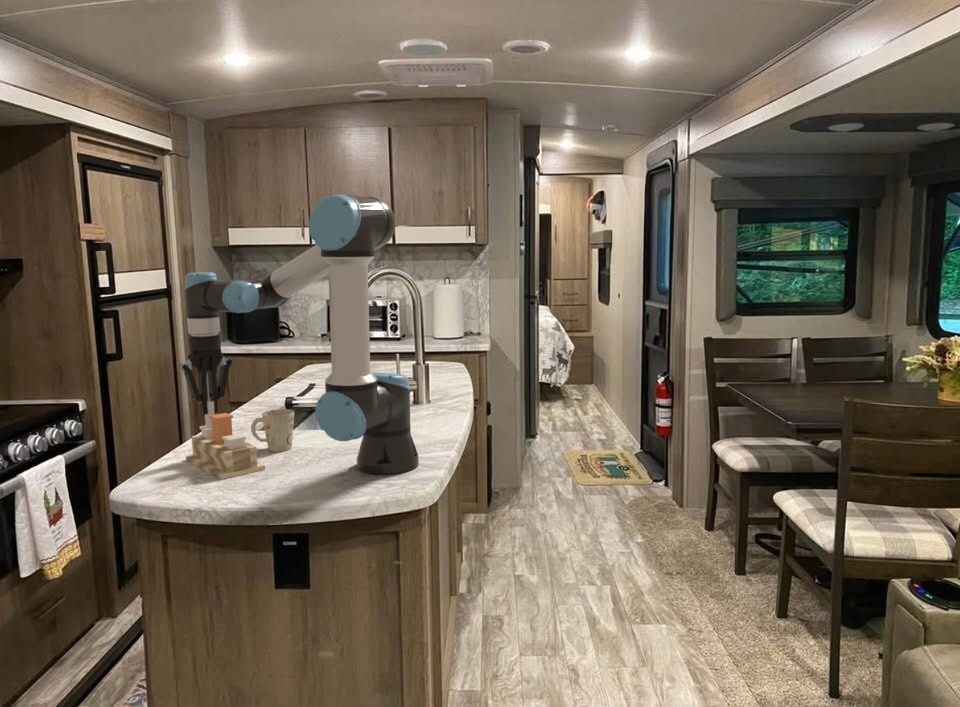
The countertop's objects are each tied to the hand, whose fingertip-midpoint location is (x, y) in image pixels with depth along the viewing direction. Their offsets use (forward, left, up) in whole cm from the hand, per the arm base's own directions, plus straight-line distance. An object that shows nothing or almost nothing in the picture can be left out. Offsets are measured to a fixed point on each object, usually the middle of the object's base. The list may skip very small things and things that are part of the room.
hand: (210, 425), depth 190 cm
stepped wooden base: (-7, 0, -9) cm, 11 cm away
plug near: (-14, 0, -8) cm, 16 cm away
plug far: (0, 0, -8) cm, 8 cm away
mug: (-2, -16, -9) cm, 18 cm away
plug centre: (-7, 0, -4) cm, 8 cm away
